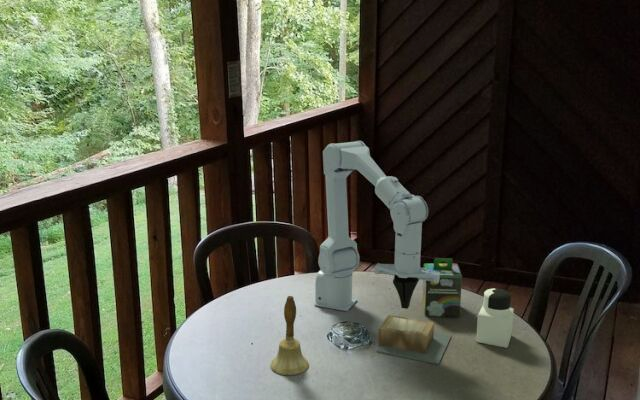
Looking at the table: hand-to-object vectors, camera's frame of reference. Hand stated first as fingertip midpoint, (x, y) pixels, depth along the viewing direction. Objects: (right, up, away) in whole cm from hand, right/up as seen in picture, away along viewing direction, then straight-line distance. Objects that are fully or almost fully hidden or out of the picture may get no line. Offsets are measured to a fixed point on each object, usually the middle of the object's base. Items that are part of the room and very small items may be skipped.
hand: (405, 306), depth 135 cm
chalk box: (+12, -5, +19) cm, 23 cm away
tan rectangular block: (-5, -6, +4) cm, 8 cm away
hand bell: (-26, -11, -8) cm, 30 cm away
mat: (+2, -9, +1) cm, 9 cm away
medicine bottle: (+22, -8, +4) cm, 23 cm away
